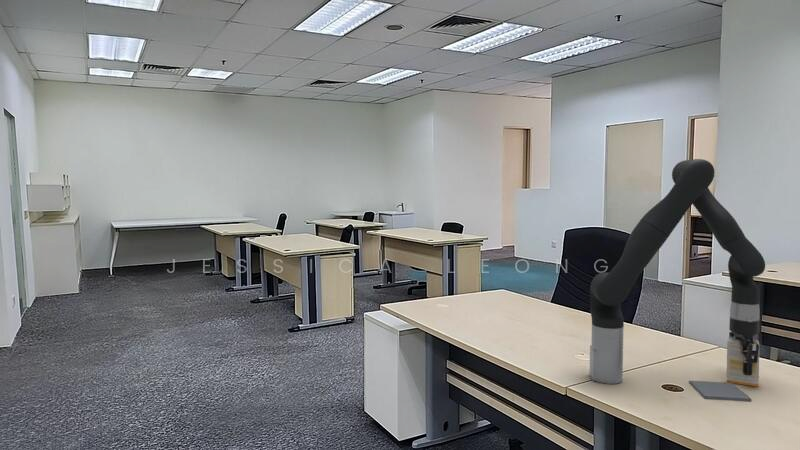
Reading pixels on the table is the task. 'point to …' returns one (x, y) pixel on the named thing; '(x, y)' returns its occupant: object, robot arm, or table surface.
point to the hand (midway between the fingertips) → (742, 370)
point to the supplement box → (740, 365)
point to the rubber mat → (719, 390)
